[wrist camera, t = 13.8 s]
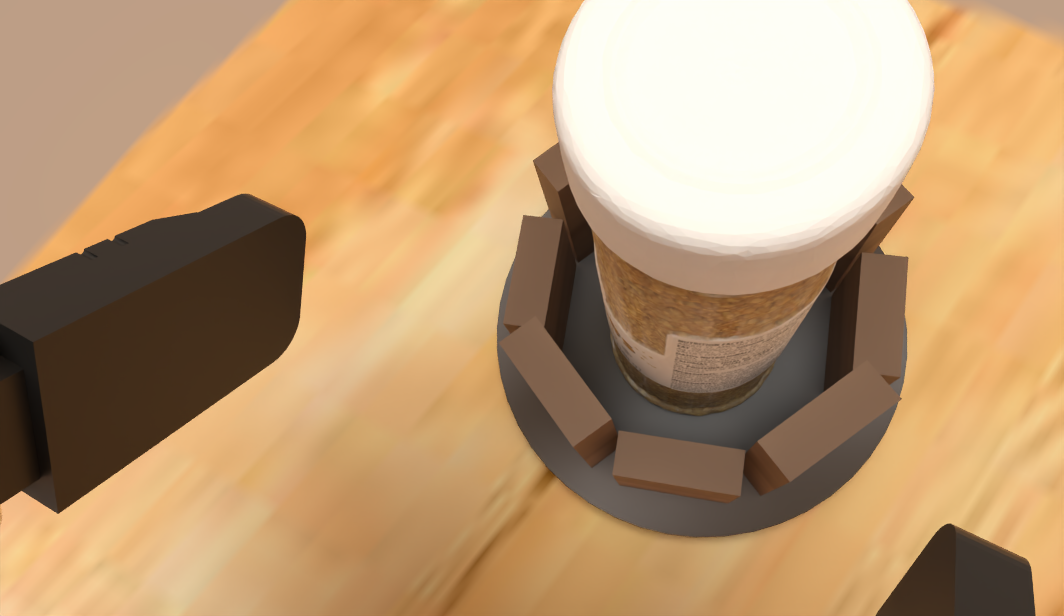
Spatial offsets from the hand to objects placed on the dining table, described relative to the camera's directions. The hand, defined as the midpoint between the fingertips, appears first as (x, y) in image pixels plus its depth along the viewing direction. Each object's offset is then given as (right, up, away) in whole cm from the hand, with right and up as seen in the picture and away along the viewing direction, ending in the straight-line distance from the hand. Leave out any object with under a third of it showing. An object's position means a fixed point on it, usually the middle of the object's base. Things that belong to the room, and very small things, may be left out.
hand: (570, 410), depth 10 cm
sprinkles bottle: (+4, 0, +13) cm, 14 cm away
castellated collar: (+4, 0, +14) cm, 14 cm away
